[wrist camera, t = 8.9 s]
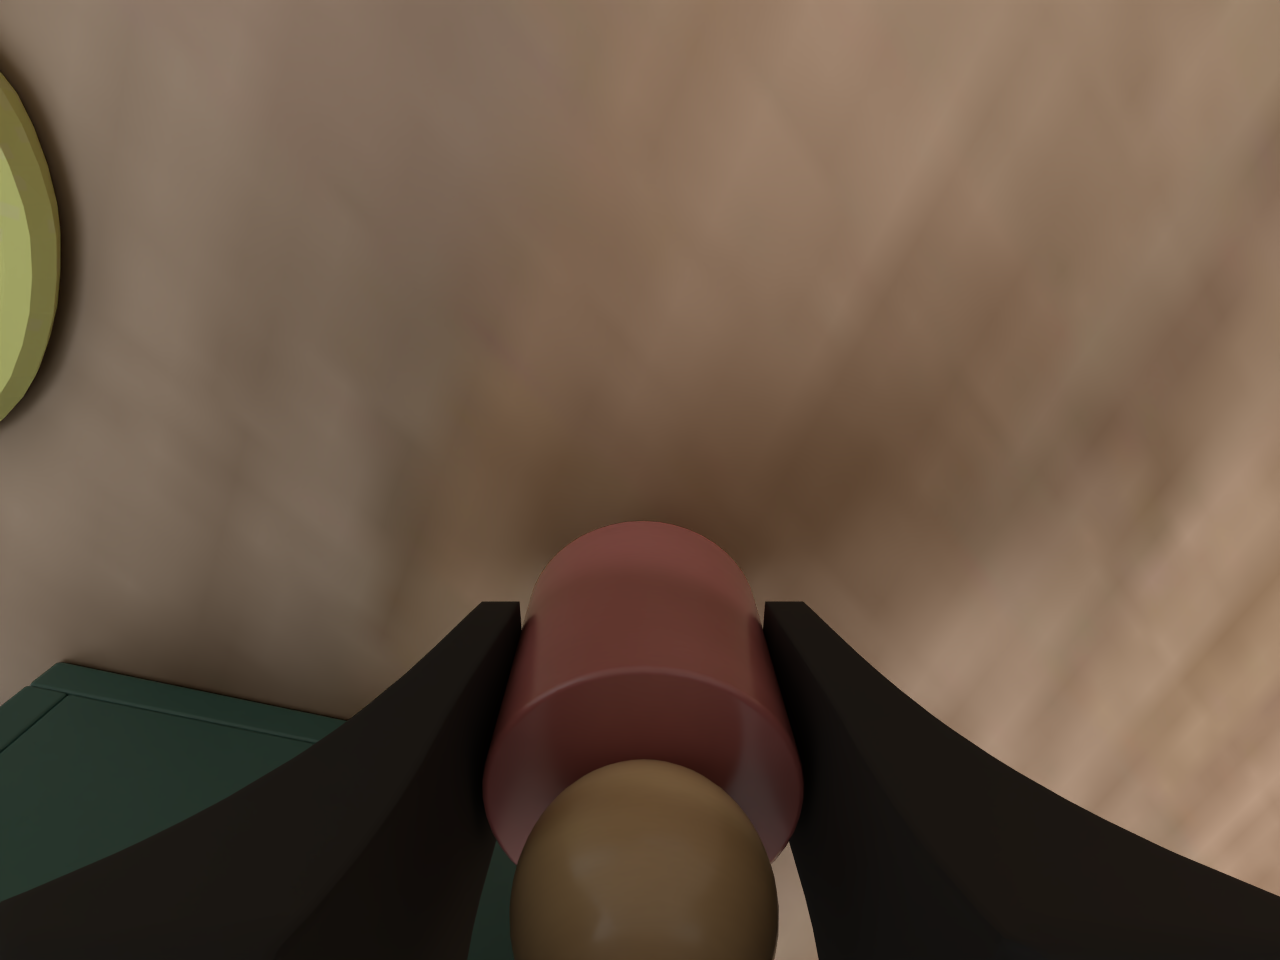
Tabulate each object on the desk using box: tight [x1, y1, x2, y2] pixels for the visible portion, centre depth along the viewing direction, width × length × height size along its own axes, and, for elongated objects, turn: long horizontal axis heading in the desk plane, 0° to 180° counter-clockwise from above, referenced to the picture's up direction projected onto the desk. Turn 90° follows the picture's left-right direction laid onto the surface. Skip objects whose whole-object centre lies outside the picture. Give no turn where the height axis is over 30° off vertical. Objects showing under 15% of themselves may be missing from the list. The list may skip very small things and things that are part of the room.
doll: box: [482, 521, 804, 960], centre depth 9 cm, size 4×4×7 cm
